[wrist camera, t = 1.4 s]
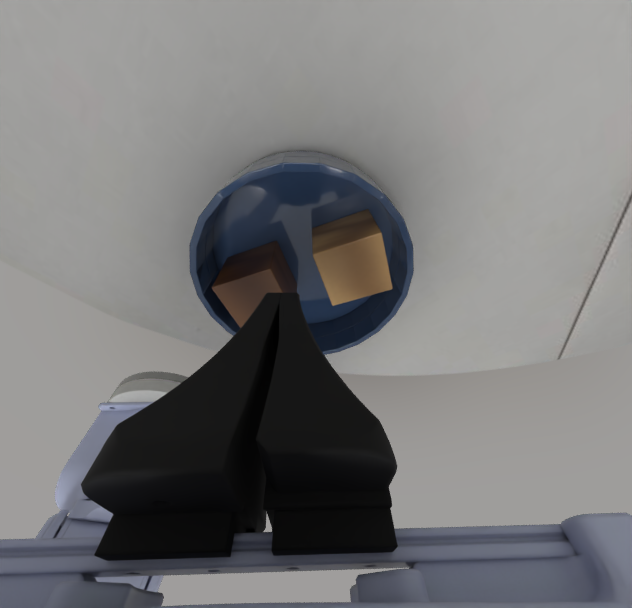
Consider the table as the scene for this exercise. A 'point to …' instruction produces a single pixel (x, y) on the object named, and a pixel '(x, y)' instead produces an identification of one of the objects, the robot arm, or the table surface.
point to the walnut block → (253, 279)
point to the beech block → (351, 257)
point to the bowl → (301, 239)
